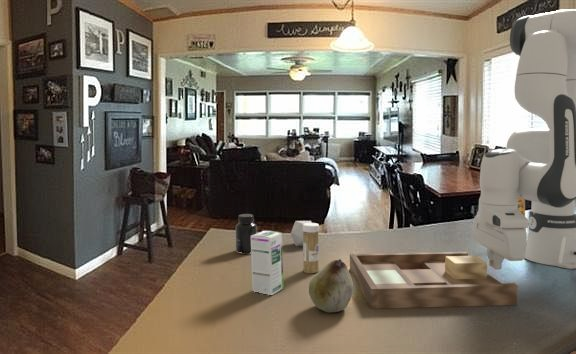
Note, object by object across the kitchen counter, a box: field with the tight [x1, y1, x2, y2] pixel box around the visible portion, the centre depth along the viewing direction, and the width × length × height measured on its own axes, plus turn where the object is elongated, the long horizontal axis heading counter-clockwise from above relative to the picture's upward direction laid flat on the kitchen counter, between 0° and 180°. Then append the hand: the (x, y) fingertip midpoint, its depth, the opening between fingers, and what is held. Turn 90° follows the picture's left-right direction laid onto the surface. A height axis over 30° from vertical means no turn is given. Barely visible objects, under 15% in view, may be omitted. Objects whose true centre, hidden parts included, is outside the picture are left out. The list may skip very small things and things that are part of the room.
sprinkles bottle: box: [302, 222, 320, 274], centre depth 125 cm, size 5×5×14 cm
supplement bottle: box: [235, 213, 258, 253], centre depth 145 cm, size 7×7×12 cm
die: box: [290, 220, 313, 247], centre depth 153 cm, size 8×9×10 cm
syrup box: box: [250, 230, 284, 296], centre depth 111 cm, size 6×6×14 cm
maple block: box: [445, 255, 488, 279], centre depth 114 cm, size 8×6×4 cm
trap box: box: [349, 251, 519, 310], centre depth 114 cm, size 33×27×4 cm
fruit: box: [308, 258, 354, 314], centre depth 100 cm, size 10×9×12 cm
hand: (495, 267), depth 114 cm, fingers closed
